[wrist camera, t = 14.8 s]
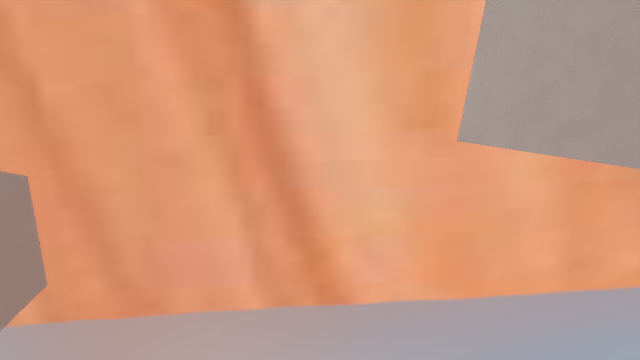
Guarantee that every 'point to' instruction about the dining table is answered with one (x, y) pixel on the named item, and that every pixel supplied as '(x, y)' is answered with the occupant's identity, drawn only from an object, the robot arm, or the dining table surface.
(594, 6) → the square hole fixture plate
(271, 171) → the dining table surface
